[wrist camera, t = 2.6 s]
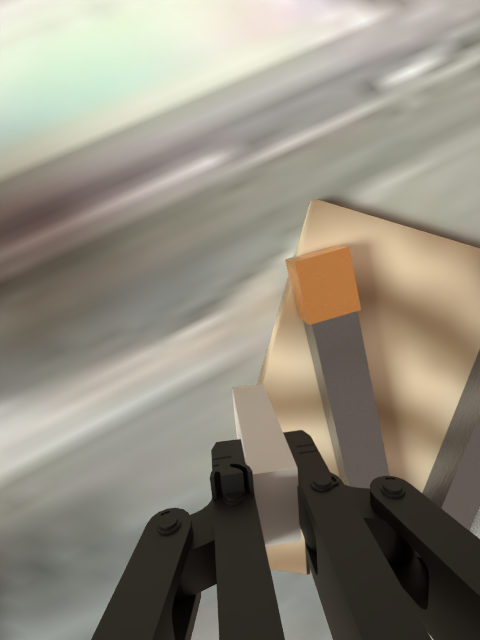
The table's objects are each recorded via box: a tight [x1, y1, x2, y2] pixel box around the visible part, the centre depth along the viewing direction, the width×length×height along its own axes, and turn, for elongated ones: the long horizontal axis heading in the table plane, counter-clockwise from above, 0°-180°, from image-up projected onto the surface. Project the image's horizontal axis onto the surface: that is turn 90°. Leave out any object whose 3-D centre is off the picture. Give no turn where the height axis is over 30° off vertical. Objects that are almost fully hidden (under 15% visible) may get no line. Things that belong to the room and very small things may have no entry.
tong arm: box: [286, 246, 390, 489], centre depth 26 cm, size 27×4×3 cm, turn 15°
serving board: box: [258, 200, 480, 575], centre depth 29 cm, size 28×20×2 cm
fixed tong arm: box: [422, 349, 480, 530], centre depth 28 cm, size 26×3×2 cm, turn 165°
